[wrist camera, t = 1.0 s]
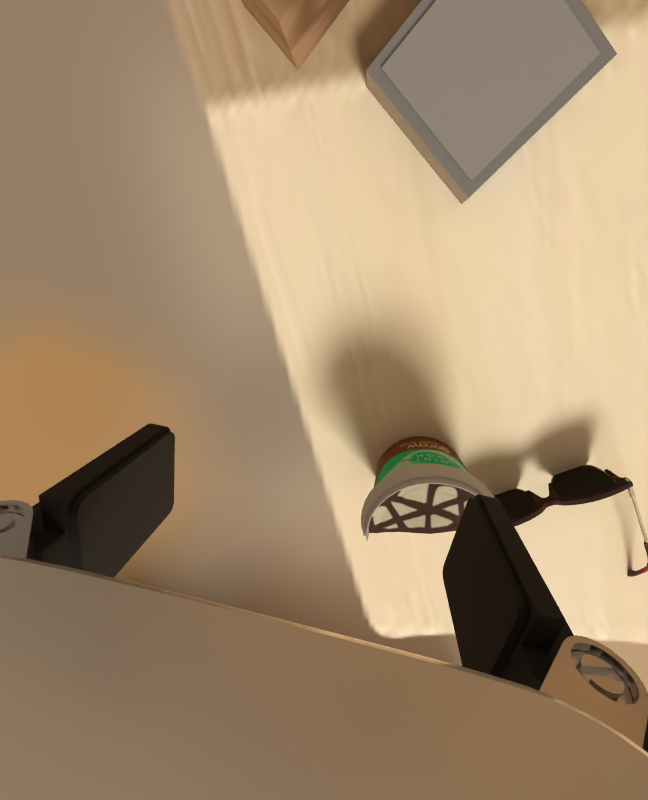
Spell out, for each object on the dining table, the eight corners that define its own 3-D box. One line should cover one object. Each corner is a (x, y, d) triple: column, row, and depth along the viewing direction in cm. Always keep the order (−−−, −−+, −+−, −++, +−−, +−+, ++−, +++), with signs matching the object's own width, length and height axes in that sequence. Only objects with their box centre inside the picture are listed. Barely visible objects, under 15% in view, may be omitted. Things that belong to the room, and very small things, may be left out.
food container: (476, 421, 36) (510, 471, 27) (477, 473, 38) (509, 537, 29) (357, 431, 39) (351, 481, 29) (364, 480, 41) (360, 541, 31)
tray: (495, -72, 24) (509, -111, 22) (595, 73, 26) (619, 52, 24) (366, 87, 28) (365, 68, 26) (461, 203, 30) (469, 197, 28)
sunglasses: (601, 453, 36) (635, 483, 31) (637, 562, 41) (672, 601, 36) (469, 499, 40) (482, 531, 35) (516, 593, 45) (533, 632, 40)
